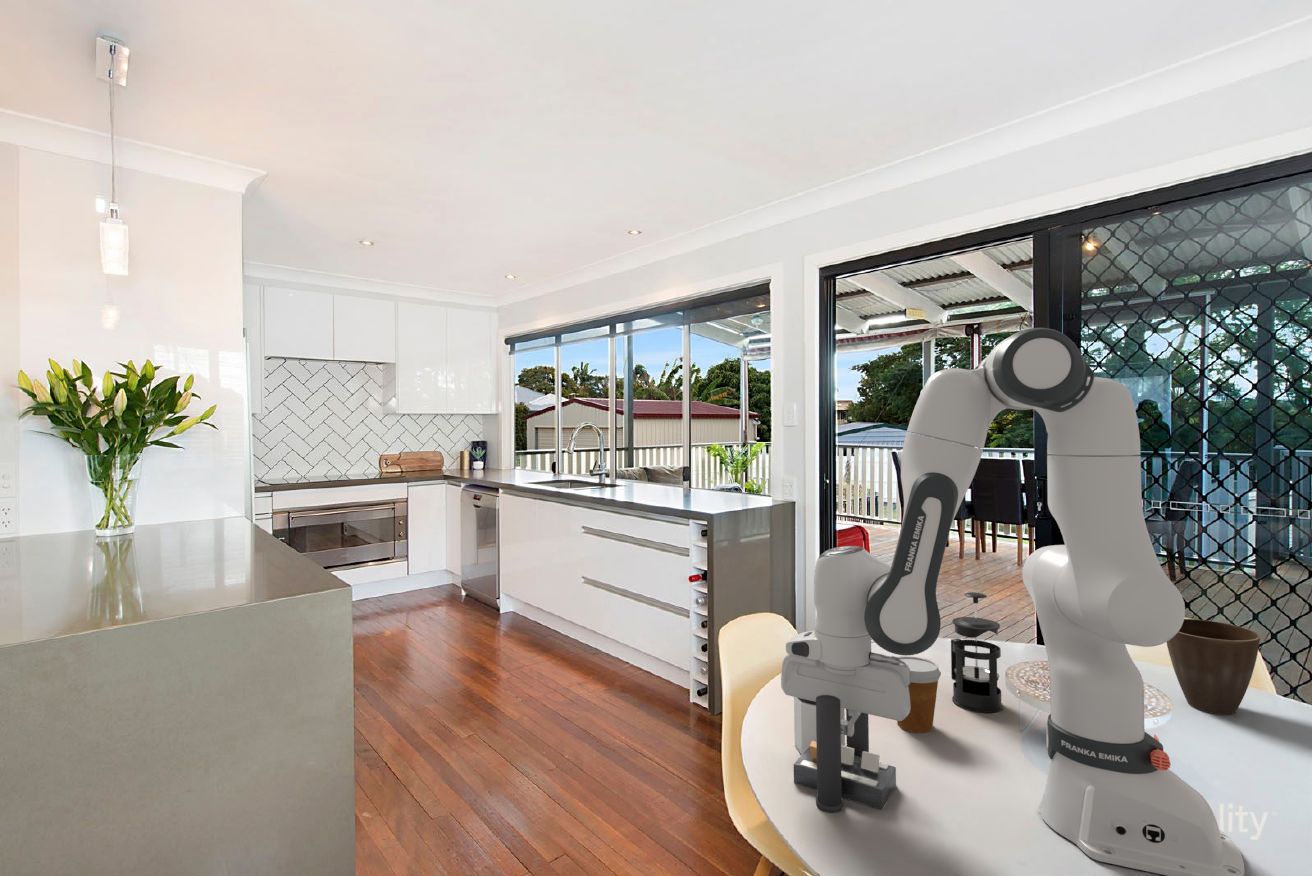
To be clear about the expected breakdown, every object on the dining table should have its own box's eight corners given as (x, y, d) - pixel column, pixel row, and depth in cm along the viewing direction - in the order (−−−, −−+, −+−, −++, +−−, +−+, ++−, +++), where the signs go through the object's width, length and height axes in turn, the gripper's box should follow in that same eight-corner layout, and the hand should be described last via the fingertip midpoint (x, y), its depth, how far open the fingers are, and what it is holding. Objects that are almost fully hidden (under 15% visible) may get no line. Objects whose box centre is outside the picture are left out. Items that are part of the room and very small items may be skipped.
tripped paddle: (828, 756, 104) (826, 744, 104) (825, 761, 103) (823, 749, 103) (814, 752, 106) (812, 740, 105) (811, 757, 105) (809, 745, 104)
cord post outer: (846, 803, 97) (845, 698, 97) (838, 815, 94) (836, 707, 94) (821, 794, 99) (820, 692, 99) (812, 807, 96) (810, 701, 96)
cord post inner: (873, 763, 109) (871, 670, 109) (866, 774, 105) (864, 677, 105) (850, 757, 111) (848, 665, 111) (842, 767, 108) (841, 672, 108)
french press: (1016, 711, 129) (1014, 597, 129) (978, 717, 126) (976, 601, 126) (972, 689, 140) (970, 585, 140) (936, 694, 137) (935, 588, 137)
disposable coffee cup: (890, 733, 120) (889, 669, 120) (887, 712, 129) (886, 653, 129) (945, 740, 117) (944, 674, 117) (938, 718, 126) (937, 657, 126)
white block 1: (853, 764, 102) (854, 748, 103) (850, 765, 101) (852, 749, 102) (838, 760, 104) (839, 744, 104) (836, 761, 103) (837, 745, 103)
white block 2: (878, 771, 100) (879, 755, 101) (876, 772, 99) (877, 755, 100) (863, 767, 101) (864, 751, 102) (860, 768, 100) (862, 751, 101)
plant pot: (1254, 731, 119) (1252, 645, 119) (1155, 706, 130) (1154, 628, 130) (1267, 709, 128) (1266, 629, 128) (1174, 687, 140) (1172, 614, 140)
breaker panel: (896, 785, 102) (895, 765, 102) (882, 810, 95) (881, 788, 95) (811, 761, 110) (811, 743, 110) (793, 782, 103) (793, 762, 103)
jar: (819, 766, 108) (818, 695, 108) (785, 747, 115) (784, 680, 115) (854, 751, 113) (853, 684, 113) (819, 734, 120) (818, 670, 120)
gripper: (915, 653, 99) (916, 742, 99) (791, 632, 111) (792, 711, 111) (905, 665, 94) (906, 759, 94) (776, 642, 106) (777, 725, 106)
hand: (843, 733), depth 102 cm, fingers closed
